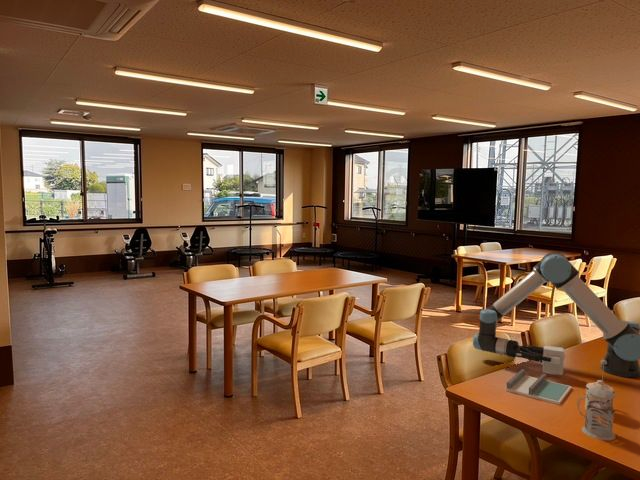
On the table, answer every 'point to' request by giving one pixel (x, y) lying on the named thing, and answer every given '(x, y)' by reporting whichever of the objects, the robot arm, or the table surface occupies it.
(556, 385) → the tray
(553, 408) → the table surface
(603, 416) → the french press
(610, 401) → the teacup with lid
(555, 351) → the small box
